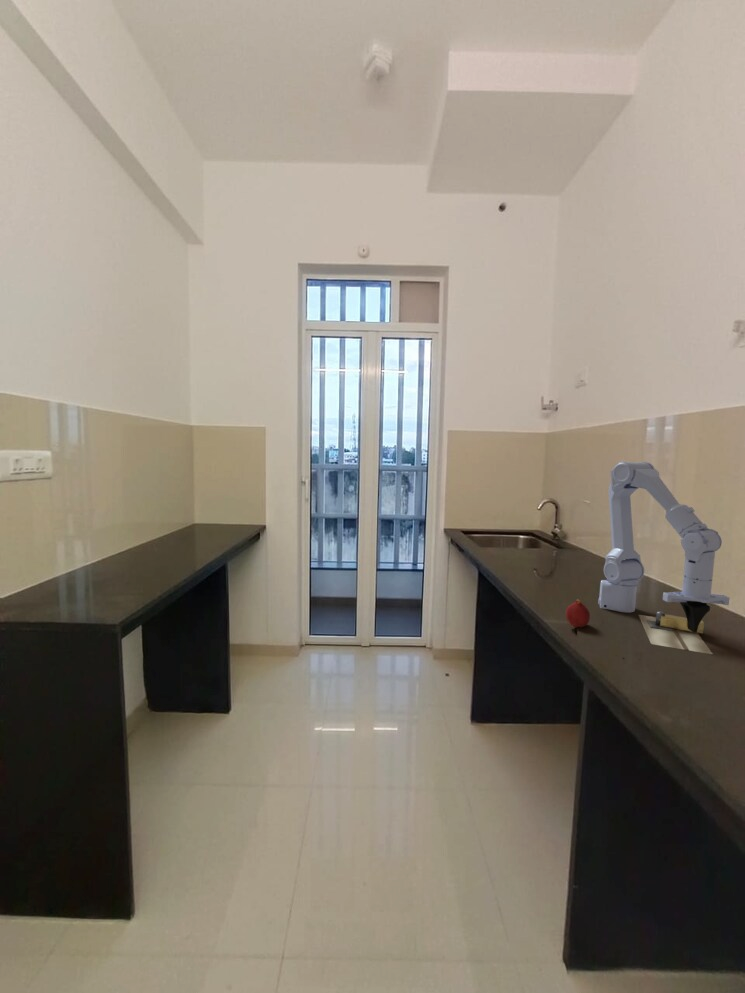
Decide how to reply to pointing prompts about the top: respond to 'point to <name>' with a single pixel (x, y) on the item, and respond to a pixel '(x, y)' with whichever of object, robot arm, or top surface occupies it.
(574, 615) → the onion
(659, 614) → the swing bar
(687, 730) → the top surface
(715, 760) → the top surface
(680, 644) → the door board
